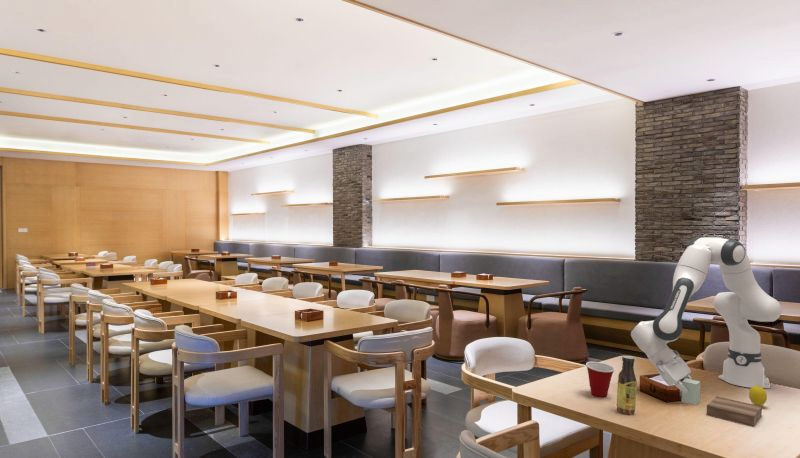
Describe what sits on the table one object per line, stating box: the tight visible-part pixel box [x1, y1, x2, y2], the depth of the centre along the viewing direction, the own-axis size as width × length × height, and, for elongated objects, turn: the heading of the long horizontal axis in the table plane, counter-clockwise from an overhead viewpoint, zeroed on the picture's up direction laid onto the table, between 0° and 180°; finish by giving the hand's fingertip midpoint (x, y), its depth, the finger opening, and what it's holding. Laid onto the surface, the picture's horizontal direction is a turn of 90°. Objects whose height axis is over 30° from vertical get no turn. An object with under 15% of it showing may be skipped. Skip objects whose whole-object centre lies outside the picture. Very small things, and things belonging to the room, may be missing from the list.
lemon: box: [748, 385, 768, 406], centre depth 190 cm, size 6×6×8 cm
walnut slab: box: [706, 396, 763, 428], centre depth 180 cm, size 14×14×4 cm
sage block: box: [681, 378, 701, 406], centre depth 194 cm, size 5×5×8 cm
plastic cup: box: [585, 361, 616, 399], centre depth 199 cm, size 11×11×12 cm
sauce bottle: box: [616, 355, 638, 415], centre depth 182 cm, size 6×6×20 cm
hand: (690, 389), depth 194 cm, fingers open, 8 cm apart
